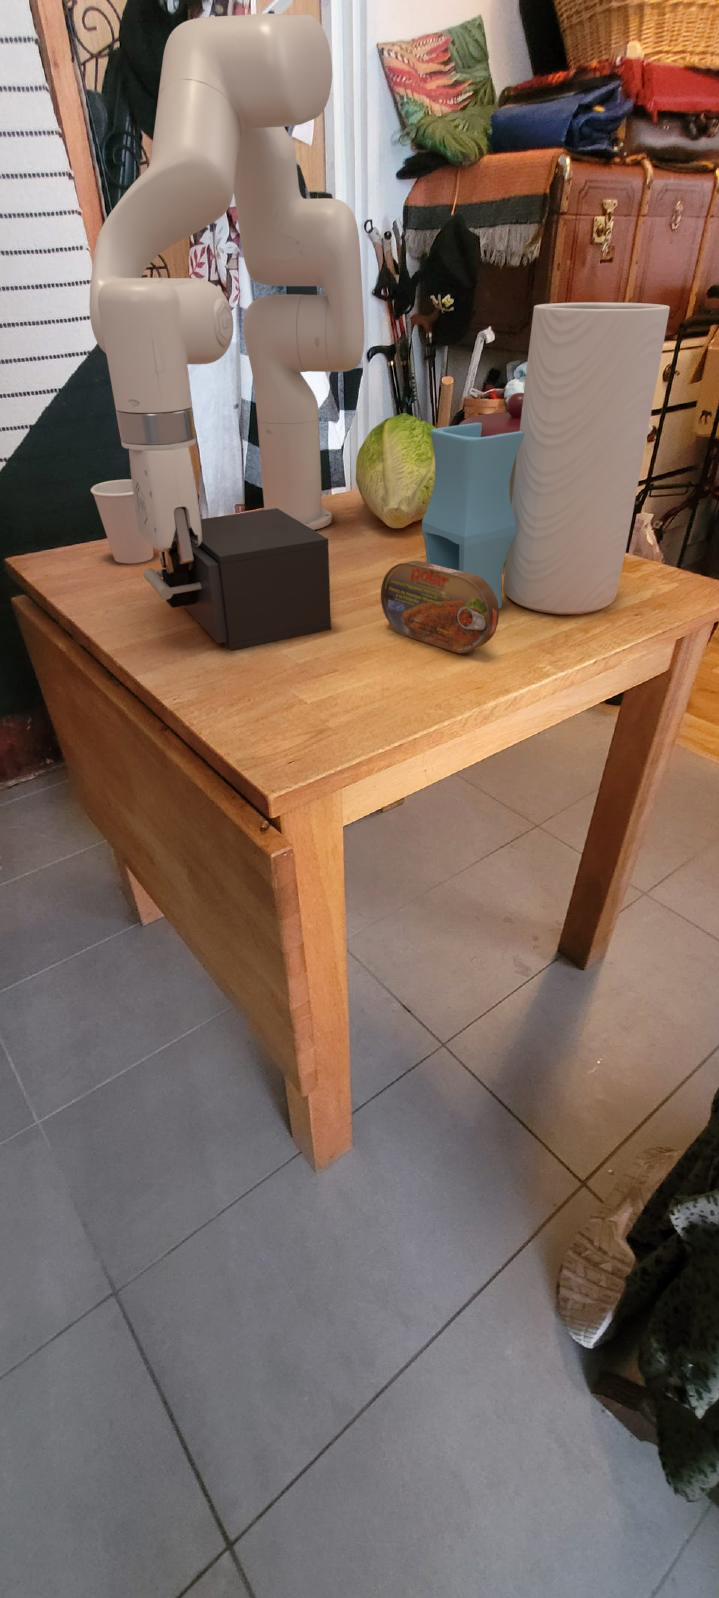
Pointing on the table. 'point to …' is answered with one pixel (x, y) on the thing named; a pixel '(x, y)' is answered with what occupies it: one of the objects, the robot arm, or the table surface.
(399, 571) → the tin
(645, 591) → the table surface
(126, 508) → the dixie cup
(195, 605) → the drawer
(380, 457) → the lettuce
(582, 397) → the vase
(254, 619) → the cabinet
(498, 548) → the vase
